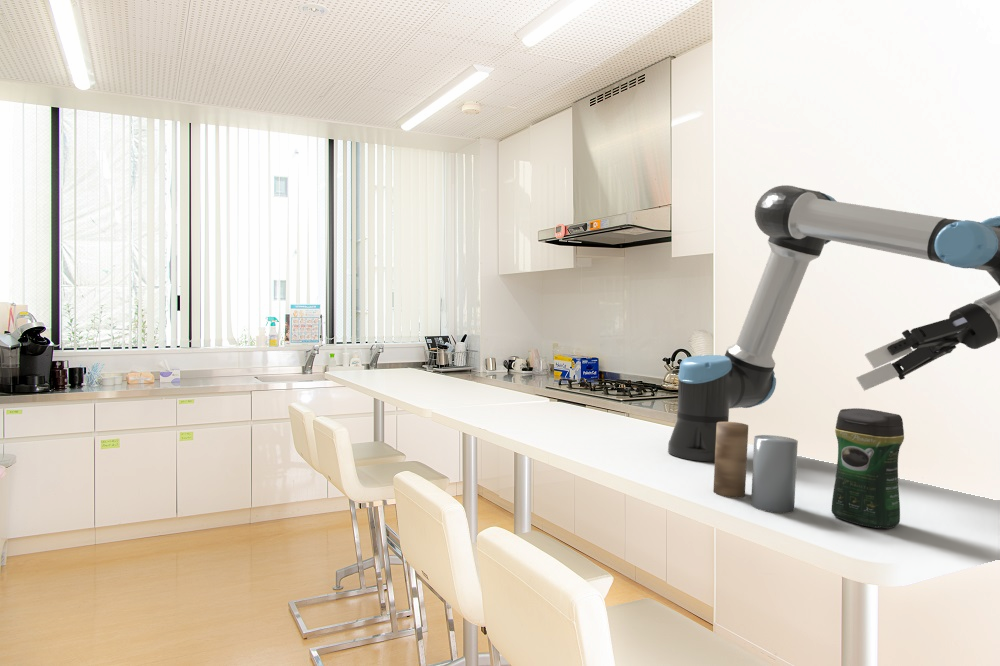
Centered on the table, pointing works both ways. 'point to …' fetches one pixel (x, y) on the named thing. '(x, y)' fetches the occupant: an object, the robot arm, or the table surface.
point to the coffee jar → (868, 467)
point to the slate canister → (774, 473)
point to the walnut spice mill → (730, 459)
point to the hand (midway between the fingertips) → (864, 373)
